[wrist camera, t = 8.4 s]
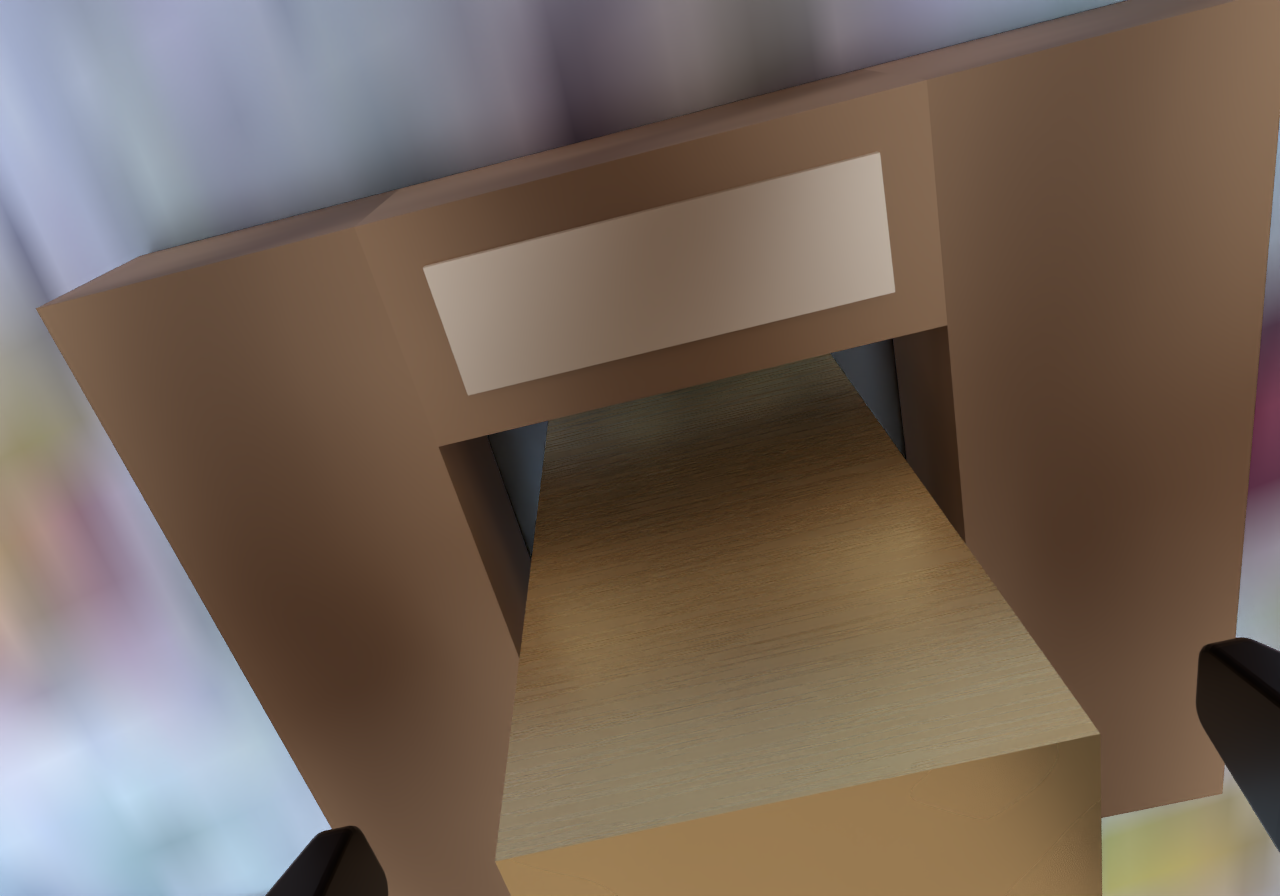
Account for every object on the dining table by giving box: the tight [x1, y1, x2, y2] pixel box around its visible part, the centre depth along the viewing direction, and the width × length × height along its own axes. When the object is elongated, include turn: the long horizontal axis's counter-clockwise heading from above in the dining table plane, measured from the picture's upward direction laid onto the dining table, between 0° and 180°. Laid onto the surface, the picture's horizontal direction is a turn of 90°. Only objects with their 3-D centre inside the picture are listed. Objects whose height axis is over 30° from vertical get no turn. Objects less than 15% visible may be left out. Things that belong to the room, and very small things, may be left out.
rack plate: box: [36, 0, 1280, 896], centre depth 13 cm, size 14×12×3 cm
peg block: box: [495, 353, 1102, 896], centre depth 11 cm, size 4×4×8 cm
